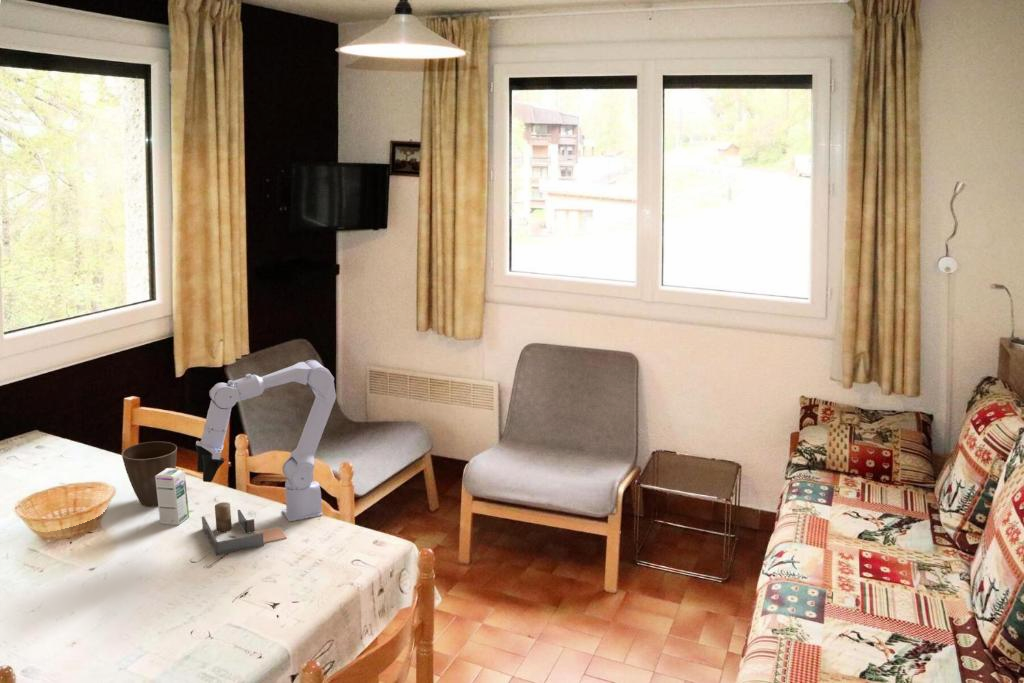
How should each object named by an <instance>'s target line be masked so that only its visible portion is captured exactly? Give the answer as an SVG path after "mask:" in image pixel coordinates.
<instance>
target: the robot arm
mask: <svg viewBox="0 0 1024 683" xmlns="http://www.w3.org/2000/svg"><path fill="white" fill-rule="evenodd" d="M334 381H335V377H334V376H333V375H332V373H331V371H330V370H329V369H328V368H326V367H324V366H323V365H322V364H321V363H320V362H319V361H317V360H315V359H309V360H306V361H299V362H297V363H295V364H293V365H290V366H288V367H285V368H282V369H279V370H277V371H274V372H271V373H268V374H266V375H263V376H259V375H257V374H251V373H247V374H245V377H241V378H237V379H234V380H233V379H229V380H228V381H227V383H226V382H217V383H216V384H214V386H213V387H211V389H210V390H209V392H208V393H209V397H210V399H211V400H210V403H209V408H208V410H207V415H206V418H205V423H204V427H203V432H202V435H201V440H200V441H199V440H196V442H195V450H196V455H197V459H196V460H197V461H196V462H197V463H196V464H197V465H196V468H197V472H199V473H202V481H203V483H212V481H213V480H214V478H215V476H216V473H217V472H218V471H219V468H220V467H221V466H222V465H223V464H224V463H225V461H226V460H225V458H224V457H222V452H223V449H224V446H225V445H224V443H225V438H226V436H227V431H228V427H229V422H230V417H231V412H232V408H233V407H234V406H235V405H236V404H237V402H238V403H239V402H242V401H245V400H248V399H251V398H254V397H257V396H261V395H262V394H263V392H264V391H265V390H266V389H270V388H274V387H277V386H280V385H285V384H288V383H293V382H294V383H298V384H301V385H304V386H307V385H309V387H310V388H311V391H312V392H313V394H314V396H315V398H314V401H313V404H312V405H311V408H310V411H309V414H308V416H307V420H306V421H305V425H304V428H303V430H302V432H301V435H300V438H299V441H298V443H297V446H296V448H295V449H294V450H293V451H291V452H290V455H289V457H288V458H287V459H286V461H285V462H283V465H282V473H283V475H284V476H285V477H286V480H285V482H284V487H285V488H284V490H285V491H284V492H285V504H286V508H284V509H282V513H283V514H284V516H285V517H286V519H287V520H288V521H289V522H294V521H299V520H304V518H305V519H310V518H314V517H319V516H323V514H324V513H323V512H322V510H323V508H322V492H321V486H320V484H319V482H318V481H317V480H315V481H313V480H314V468H315V465H316V464H315V454H316V451H317V449H318V446H319V444H320V441H321V438H322V435H323V433H324V430H325V427H326V425H327V423H328V420H329V417H330V415H331V412H332V409H333V406H334V404H335V402H336V398H337V394H336V388H335V382H334ZM309 517H310V518H309Z"/></svg>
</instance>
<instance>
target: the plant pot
mask: <svg viewBox="0 0 1024 683" xmlns="http://www.w3.org/2000/svg"><path fill="white" fill-rule="evenodd" d="M177 451H178V446H177V445H176V444H175V443H172V442H169V441H168V442H167V441H146V442H141V443H137V444H134V445H131V446H129V447H127V448H125V449H124V450H122V452H121V457H122V460H123V465H124V469H125V471H126V472H125V473H126V475H127V477H128V479H129V480H128V481H129V483H130V485H131V487H132V489H133V492H134V494H135V496H136V497H137V500H138V501H139V503H140V505H141V506H143V507H147V508H148V507H149V508H151V507H158V498H157V489H156V479H155V476H156V475H158V474H159V473H161V472H162V471H164V470H165V469H166V468H176V466H177V457H178V456H177V455H178V452H177Z"/></svg>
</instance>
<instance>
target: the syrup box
mask: <svg viewBox="0 0 1024 683" xmlns="http://www.w3.org/2000/svg"><path fill="white" fill-rule="evenodd" d="M185 471H186V470H185V469H183V468H166V469H165V470H164V471H162V472H161V473H159V474H158V475H156V476H155V479H156V489H157V498H158V506H157V507H158V513H159V523H160V524H162V525H170V526H179V525H180V524H181V523H183V522H184V521H186V520H187V519H188V518H189V517H190V512H189V510H190V509H189V501H188V493H187V492H188V491H187V490H188V489H187V483H186V482H187V481H186V472H185Z"/></svg>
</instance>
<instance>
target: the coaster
mask: <svg viewBox="0 0 1024 683" xmlns="http://www.w3.org/2000/svg"><path fill="white" fill-rule="evenodd" d="M259 533H263V542H264V544H267V543H271V542H276V541H275V540H277V541H281V540H280V539H282V540H286V538H288V537H287V536H286V534H285V533H284V531H283V530H282V528H281V527H280V526H277V527H273V528H269V529H264V530H262V529H261V530H259V531H255V532H253V535H254V534H259Z"/></svg>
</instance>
